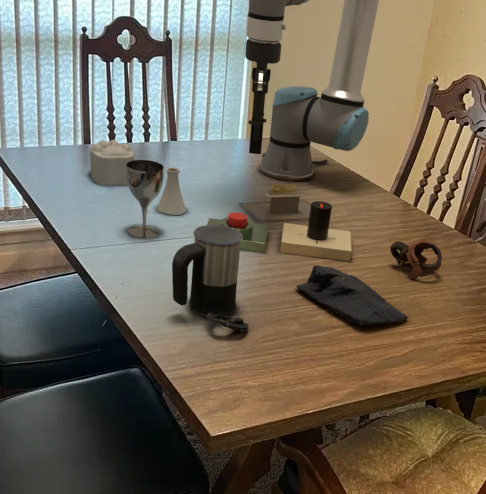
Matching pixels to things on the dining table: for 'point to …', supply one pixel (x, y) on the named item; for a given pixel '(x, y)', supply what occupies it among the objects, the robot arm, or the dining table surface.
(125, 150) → the lumpy-topped squat cylinder
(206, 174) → the dining table surface
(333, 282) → the black cloth
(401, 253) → the coiled brown leather belt
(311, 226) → the dial
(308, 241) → the timer panel
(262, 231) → the button housing
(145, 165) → the wine glass
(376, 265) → the dining table surface
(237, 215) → the button
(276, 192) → the platform
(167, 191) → the flask
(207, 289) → the milk frother
